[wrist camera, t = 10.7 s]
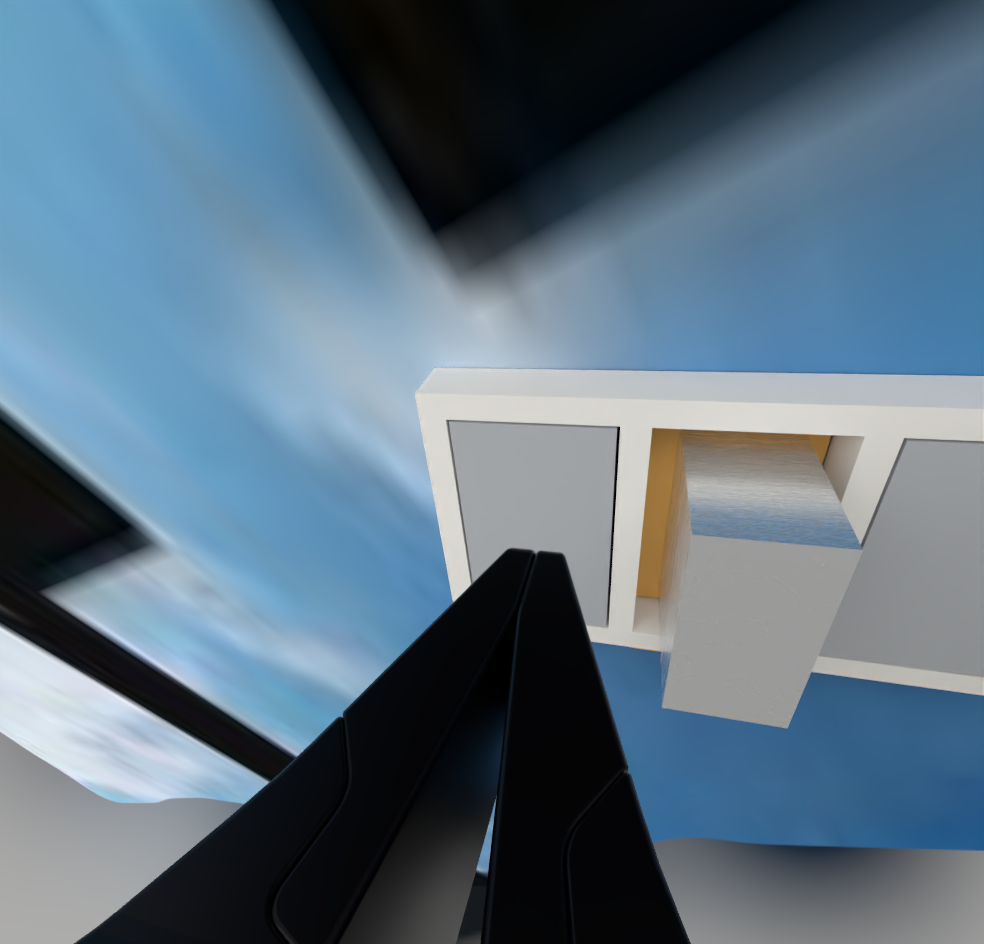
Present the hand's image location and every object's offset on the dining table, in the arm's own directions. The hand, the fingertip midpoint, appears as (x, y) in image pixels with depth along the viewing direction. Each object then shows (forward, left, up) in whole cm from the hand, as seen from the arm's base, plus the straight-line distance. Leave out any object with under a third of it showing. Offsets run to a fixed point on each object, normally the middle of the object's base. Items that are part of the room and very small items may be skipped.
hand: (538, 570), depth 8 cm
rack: (-5, +8, -12) cm, 15 cm away
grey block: (-5, +8, -12) cm, 15 cm away
